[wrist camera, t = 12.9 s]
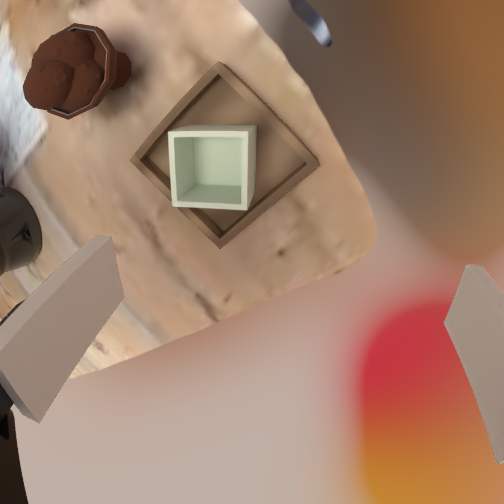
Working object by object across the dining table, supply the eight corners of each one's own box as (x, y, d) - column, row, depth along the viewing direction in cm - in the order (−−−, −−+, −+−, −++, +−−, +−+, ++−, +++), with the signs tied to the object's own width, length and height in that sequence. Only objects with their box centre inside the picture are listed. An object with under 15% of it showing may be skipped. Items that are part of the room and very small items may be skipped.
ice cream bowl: (159, 92, 35) (89, 99, 21) (90, 119, 37) (12, 142, 24) (142, 20, 30) (70, -2, 17) (75, 53, 32) (-4, 54, 19)
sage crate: (192, 187, 39) (172, 206, 33) (189, 124, 35) (168, 131, 29) (255, 190, 38) (247, 210, 32) (257, 124, 35) (248, 131, 28)
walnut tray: (140, 155, 39) (129, 160, 36) (224, 63, 32) (218, 61, 30) (225, 238, 43) (220, 249, 40) (318, 160, 36) (319, 165, 34)
